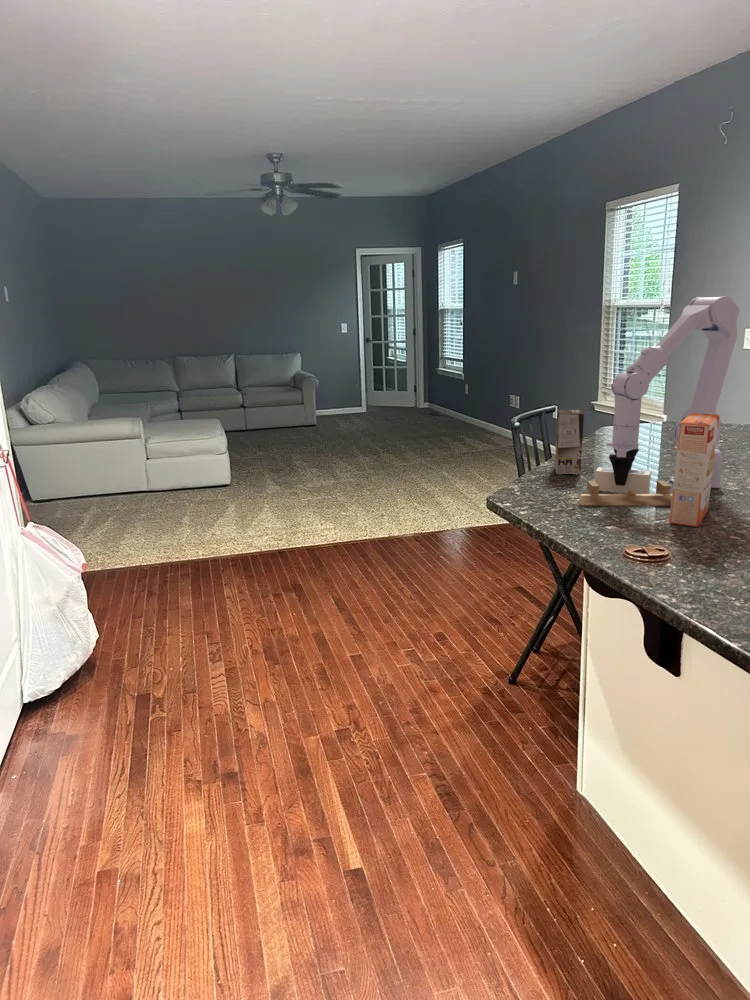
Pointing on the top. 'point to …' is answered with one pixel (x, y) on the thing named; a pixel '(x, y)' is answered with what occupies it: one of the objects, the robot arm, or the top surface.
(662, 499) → the ledge
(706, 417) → the cracker box
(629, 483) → the cream block
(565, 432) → the coffee box
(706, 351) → the robot arm
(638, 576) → the top surface
